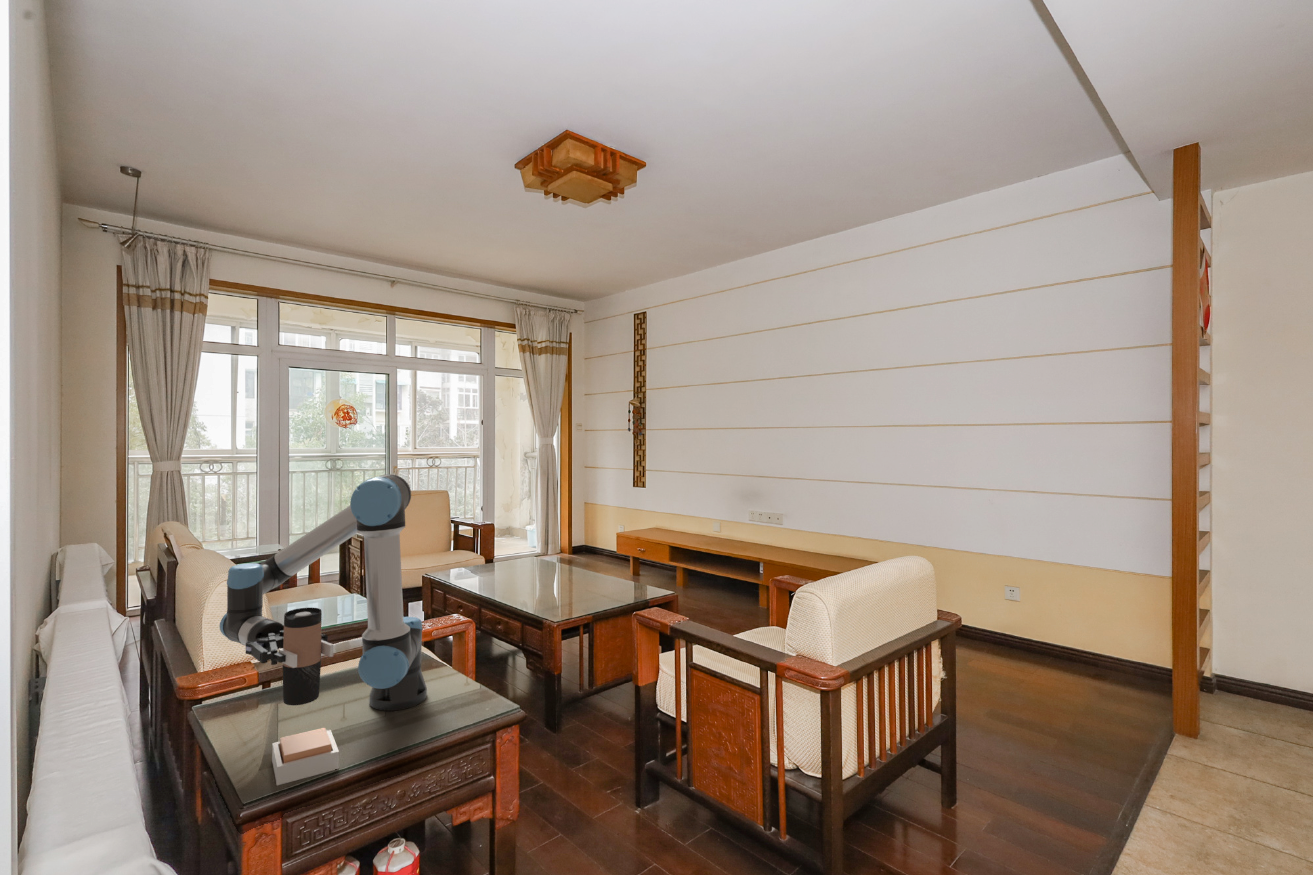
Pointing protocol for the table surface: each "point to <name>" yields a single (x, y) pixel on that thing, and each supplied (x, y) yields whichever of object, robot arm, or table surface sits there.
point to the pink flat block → (304, 745)
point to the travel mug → (302, 655)
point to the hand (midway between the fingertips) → (313, 655)
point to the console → (304, 764)
